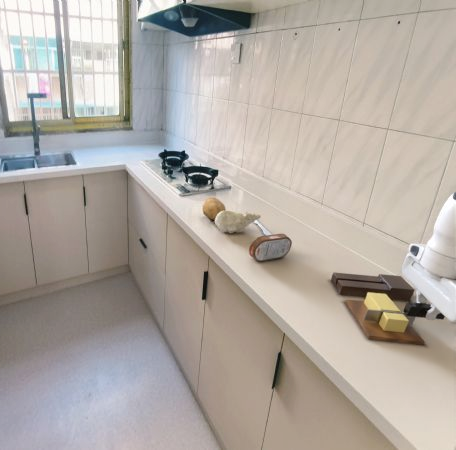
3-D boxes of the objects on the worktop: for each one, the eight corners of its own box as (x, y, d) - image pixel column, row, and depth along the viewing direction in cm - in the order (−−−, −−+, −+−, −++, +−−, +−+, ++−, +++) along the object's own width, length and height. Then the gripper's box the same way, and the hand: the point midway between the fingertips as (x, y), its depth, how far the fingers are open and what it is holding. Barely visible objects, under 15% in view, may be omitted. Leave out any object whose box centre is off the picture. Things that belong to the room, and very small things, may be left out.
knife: (433, 324, 81) (443, 305, 79) (438, 329, 80) (448, 310, 77) (362, 317, 83) (369, 298, 81) (365, 322, 81) (372, 302, 79)
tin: (284, 253, 115) (289, 231, 111) (290, 257, 112) (295, 235, 109) (246, 259, 110) (250, 236, 107) (252, 264, 107) (256, 240, 104)
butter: (381, 304, 88) (385, 293, 87) (396, 322, 82) (400, 311, 80) (363, 303, 89) (367, 292, 87) (376, 320, 82) (381, 309, 81)
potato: (205, 225, 134) (207, 206, 131) (198, 212, 147) (199, 194, 144) (229, 225, 135) (231, 206, 132) (220, 212, 148) (222, 195, 145)
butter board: (391, 307, 89) (392, 303, 89) (423, 345, 77) (425, 341, 76) (344, 302, 90) (345, 299, 90) (368, 339, 78) (369, 335, 77)
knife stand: (396, 287, 98) (400, 275, 97) (410, 301, 92) (415, 289, 90) (330, 280, 100) (333, 269, 99) (339, 294, 94) (343, 283, 92)
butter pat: (398, 325, 81) (403, 313, 80) (404, 332, 79) (409, 320, 77) (378, 323, 81) (383, 311, 80) (383, 330, 79) (388, 318, 78)
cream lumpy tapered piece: (205, 234, 131) (229, 223, 118) (205, 217, 133) (228, 204, 121) (237, 241, 137) (263, 231, 124) (236, 225, 139) (262, 213, 127)
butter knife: (266, 235, 126) (273, 235, 126) (245, 211, 148) (251, 211, 148) (265, 236, 126) (273, 236, 127) (245, 212, 148) (251, 212, 148)
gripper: (500, 291, 64) (470, 347, 70) (433, 243, 83) (413, 290, 88) (465, 288, 65) (438, 343, 70) (405, 240, 83) (388, 287, 89)
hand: (424, 313), depth 79 cm, fingers closed on knife, 2 cm apart
